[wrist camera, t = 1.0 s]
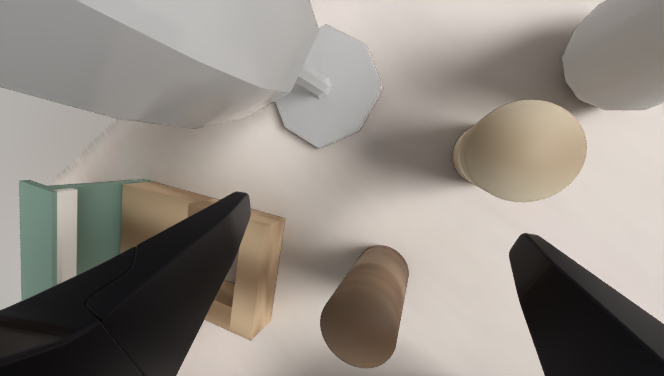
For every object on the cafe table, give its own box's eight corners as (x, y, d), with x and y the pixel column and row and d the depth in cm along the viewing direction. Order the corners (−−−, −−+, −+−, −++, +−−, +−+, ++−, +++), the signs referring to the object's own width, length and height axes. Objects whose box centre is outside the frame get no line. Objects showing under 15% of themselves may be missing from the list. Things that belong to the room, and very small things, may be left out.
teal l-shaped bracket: (163, 280, 30) (51, 331, 21) (137, 269, 31) (21, 312, 22) (170, 181, 28) (51, 191, 19) (142, 174, 29) (19, 180, 20)
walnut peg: (402, 302, 21) (387, 380, 14) (353, 285, 22) (314, 349, 15) (413, 253, 20) (404, 308, 13) (362, 239, 22) (326, 282, 14)
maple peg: (510, 190, 18) (568, 212, 10) (446, 178, 19) (456, 190, 12) (527, 128, 17) (602, 105, 10) (460, 120, 19) (480, 94, 11)
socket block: (270, 320, 26) (250, 340, 23) (147, 269, 30) (118, 280, 28) (285, 218, 24) (265, 226, 21) (152, 181, 29) (122, 183, 26)
